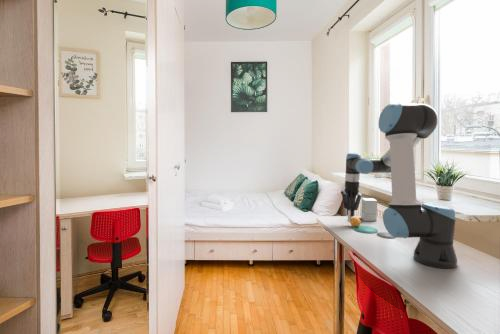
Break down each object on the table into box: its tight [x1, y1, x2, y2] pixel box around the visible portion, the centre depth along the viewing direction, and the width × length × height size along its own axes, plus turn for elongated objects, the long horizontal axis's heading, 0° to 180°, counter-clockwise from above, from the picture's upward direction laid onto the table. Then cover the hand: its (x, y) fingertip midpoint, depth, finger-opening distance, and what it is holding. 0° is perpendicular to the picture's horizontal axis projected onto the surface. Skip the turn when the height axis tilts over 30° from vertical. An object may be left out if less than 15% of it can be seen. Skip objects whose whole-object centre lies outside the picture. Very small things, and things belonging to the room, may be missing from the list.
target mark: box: [352, 225, 379, 234], centre depth 161 cm, size 13×13×1 cm
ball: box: [349, 216, 362, 227], centre depth 166 cm, size 6×6×6 cm
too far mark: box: [376, 231, 397, 239], centre depth 151 cm, size 9×9×1 cm
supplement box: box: [360, 197, 378, 222], centre depth 180 cm, size 7×7×13 cm
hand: (350, 221), depth 168 cm, fingers closed
